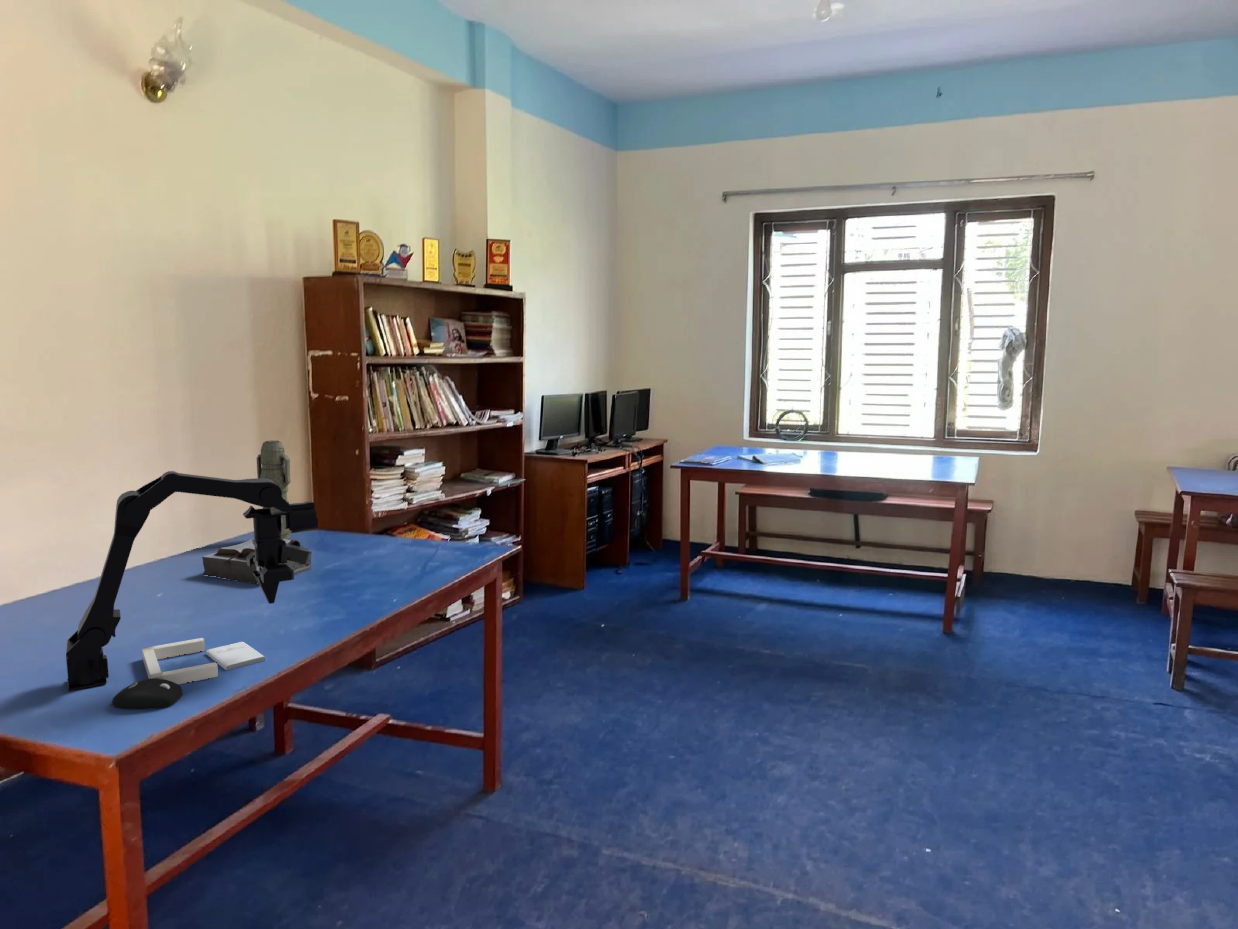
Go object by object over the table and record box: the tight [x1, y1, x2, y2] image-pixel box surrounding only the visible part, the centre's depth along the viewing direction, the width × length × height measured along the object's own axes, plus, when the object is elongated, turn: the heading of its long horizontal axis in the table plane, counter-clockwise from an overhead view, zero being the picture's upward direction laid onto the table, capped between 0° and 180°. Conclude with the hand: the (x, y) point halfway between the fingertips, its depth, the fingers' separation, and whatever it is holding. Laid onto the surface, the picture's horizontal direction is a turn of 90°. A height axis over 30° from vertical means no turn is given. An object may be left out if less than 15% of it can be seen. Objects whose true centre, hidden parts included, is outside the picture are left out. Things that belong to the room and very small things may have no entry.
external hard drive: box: [205, 641, 266, 671], centre depth 179 cm, size 2×8×12 cm
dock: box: [141, 637, 219, 685], centre depth 172 cm, size 12×19×2 cm, turn 35°
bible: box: [201, 538, 313, 585], centre depth 243 cm, size 23×27×10 cm
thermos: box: [256, 440, 291, 540], centre depth 282 cm, size 9×12×35 cm
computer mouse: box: [111, 678, 184, 710], centre depth 156 cm, size 8×12×4 cm, turn 95°
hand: (271, 603), depth 182 cm, fingers closed
